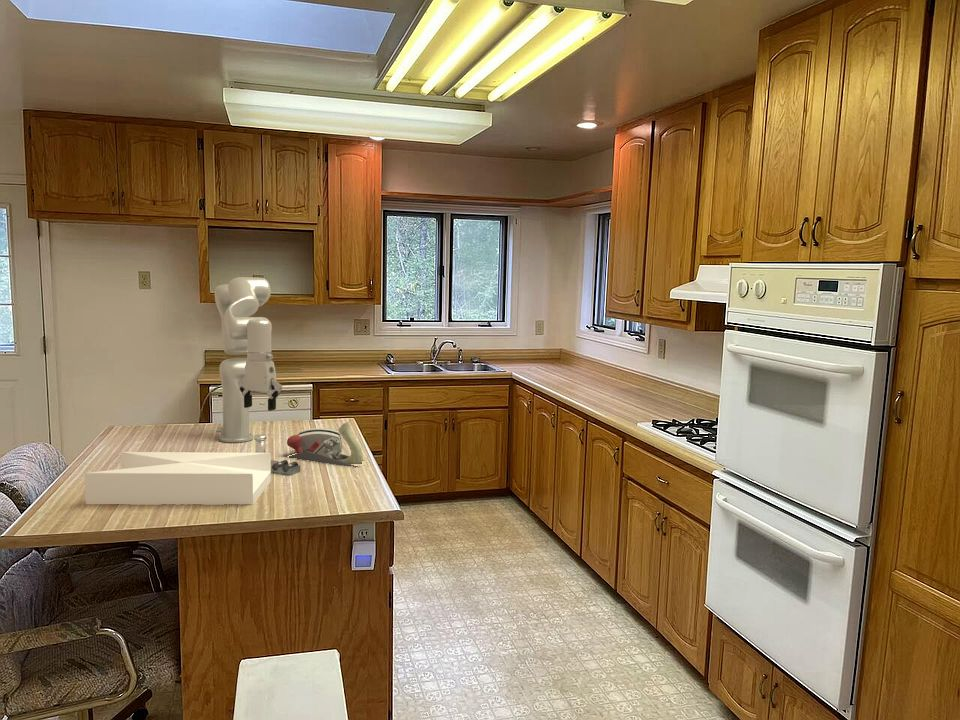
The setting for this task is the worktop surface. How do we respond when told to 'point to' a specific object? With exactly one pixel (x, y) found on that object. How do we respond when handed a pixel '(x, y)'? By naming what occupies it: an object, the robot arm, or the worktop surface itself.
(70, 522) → the worktop surface
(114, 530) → the worktop surface
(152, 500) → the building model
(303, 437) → the beige arched grooved block
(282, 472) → the knobbed grey strip
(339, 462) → the hand plane
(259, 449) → the pin
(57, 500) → the worktop surface
